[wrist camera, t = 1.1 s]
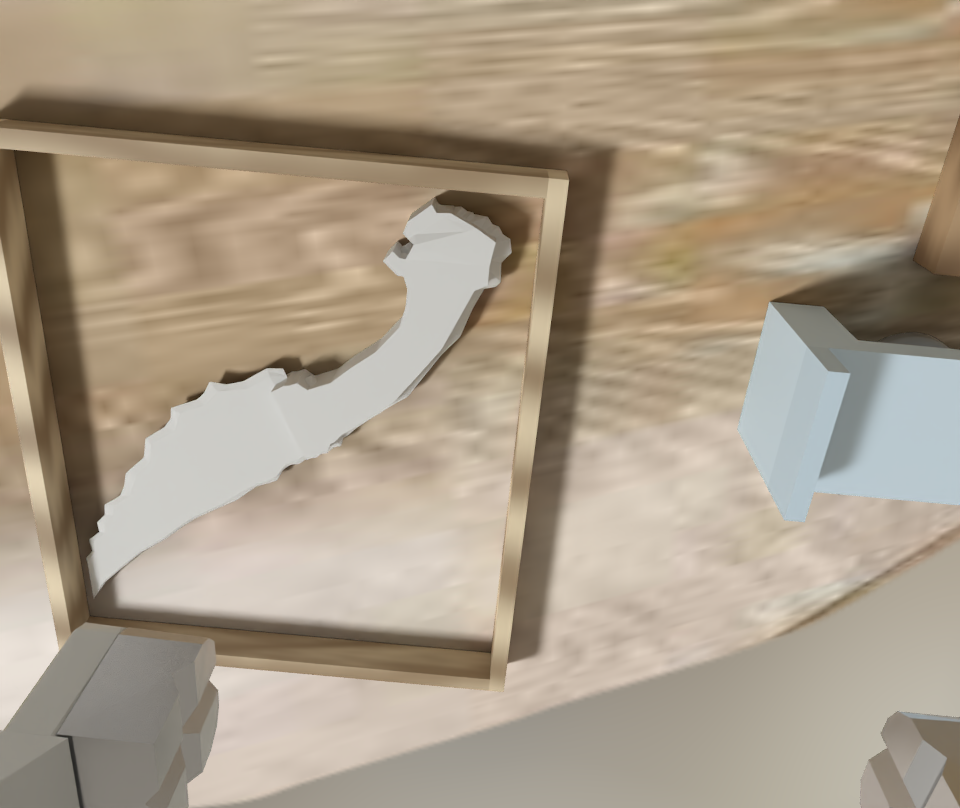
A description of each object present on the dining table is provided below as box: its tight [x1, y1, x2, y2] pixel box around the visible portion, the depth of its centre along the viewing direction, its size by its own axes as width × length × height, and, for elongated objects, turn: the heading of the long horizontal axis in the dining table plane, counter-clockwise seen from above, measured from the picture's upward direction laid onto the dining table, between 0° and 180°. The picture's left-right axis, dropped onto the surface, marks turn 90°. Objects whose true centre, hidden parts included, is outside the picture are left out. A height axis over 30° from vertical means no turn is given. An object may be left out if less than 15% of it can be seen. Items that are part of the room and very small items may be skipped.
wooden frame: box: [0, 119, 569, 692], centre depth 49 cm, size 34×30×2 cm
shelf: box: [737, 302, 960, 522], centre depth 43 cm, size 8×14×10 cm, turn 85°
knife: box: [86, 197, 512, 598], centre depth 49 cm, size 37×8×2 cm, turn 128°
